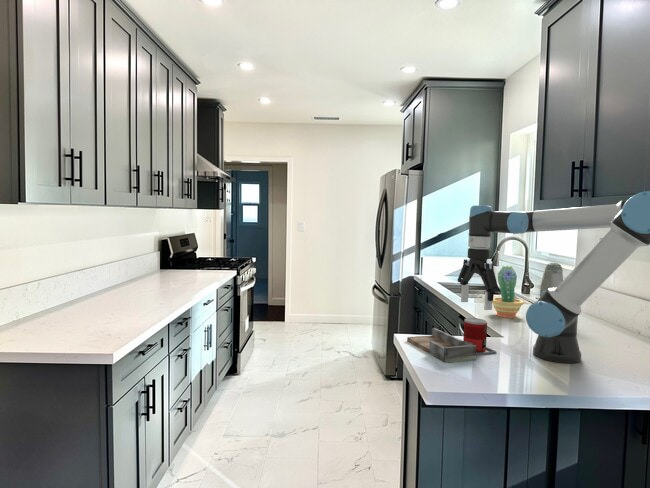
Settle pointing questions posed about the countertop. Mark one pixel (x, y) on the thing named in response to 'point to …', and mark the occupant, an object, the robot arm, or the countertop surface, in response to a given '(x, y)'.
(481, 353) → the frame
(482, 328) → the canned food
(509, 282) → the potted cactus
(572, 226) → the robot arm
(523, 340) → the countertop surface
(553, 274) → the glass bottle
